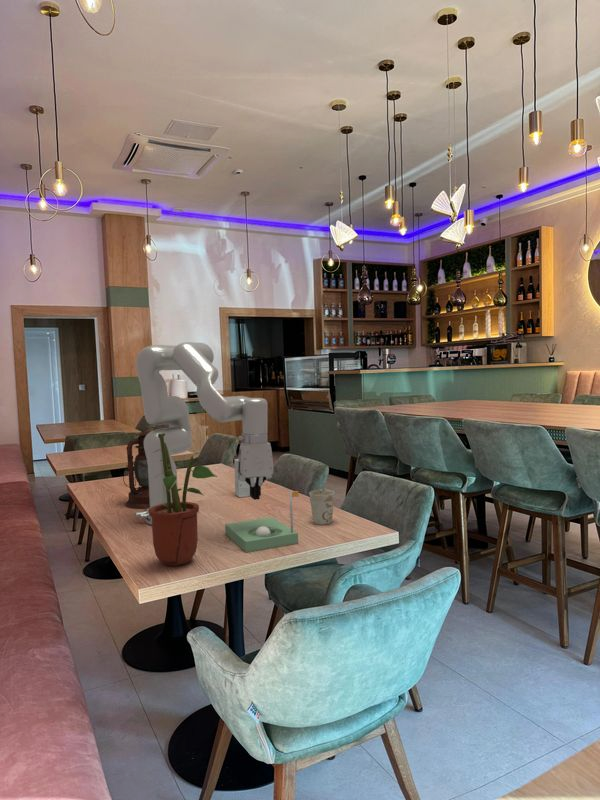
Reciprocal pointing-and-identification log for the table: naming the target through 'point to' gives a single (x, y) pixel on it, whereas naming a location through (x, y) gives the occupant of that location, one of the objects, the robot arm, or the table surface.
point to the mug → (322, 506)
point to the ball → (263, 531)
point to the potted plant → (176, 515)
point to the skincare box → (241, 484)
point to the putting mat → (252, 542)
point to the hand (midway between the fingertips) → (255, 498)
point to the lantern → (138, 474)
